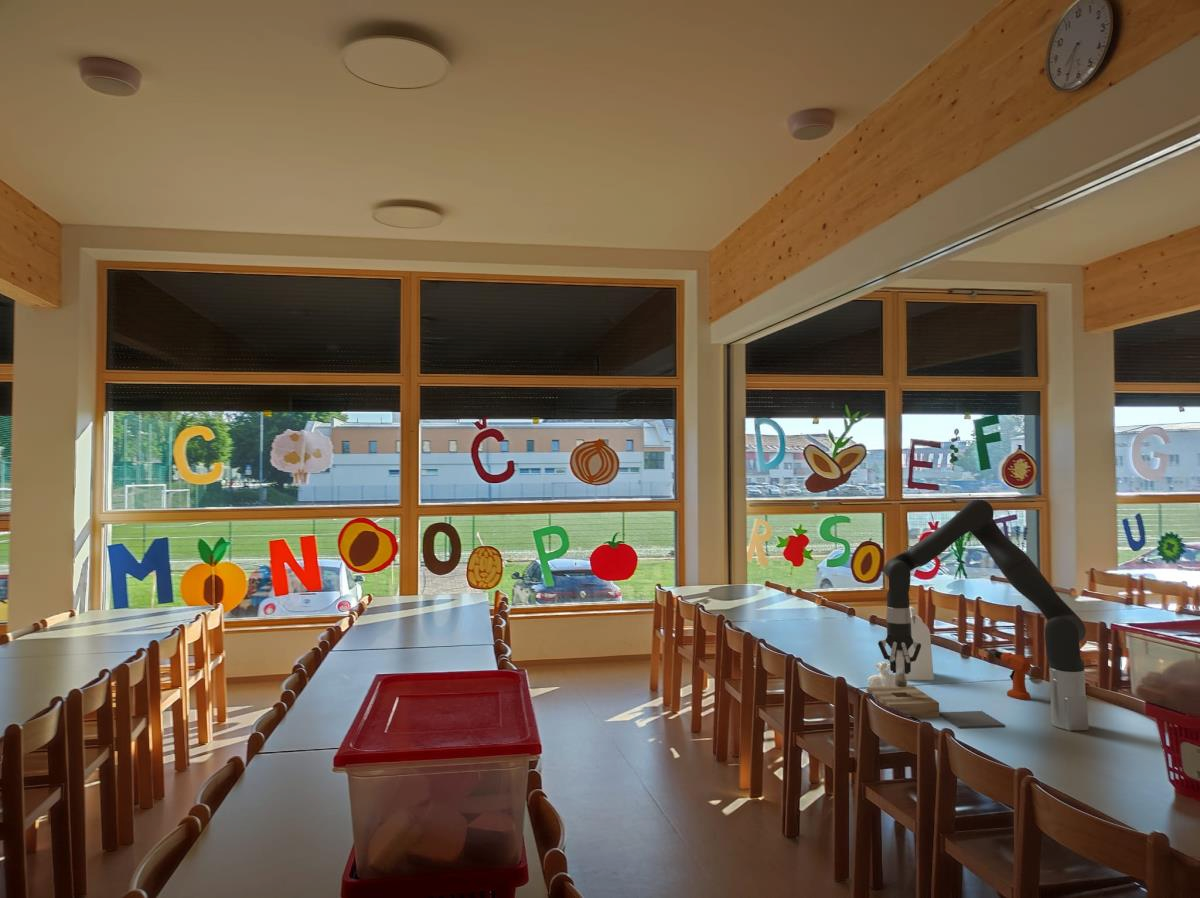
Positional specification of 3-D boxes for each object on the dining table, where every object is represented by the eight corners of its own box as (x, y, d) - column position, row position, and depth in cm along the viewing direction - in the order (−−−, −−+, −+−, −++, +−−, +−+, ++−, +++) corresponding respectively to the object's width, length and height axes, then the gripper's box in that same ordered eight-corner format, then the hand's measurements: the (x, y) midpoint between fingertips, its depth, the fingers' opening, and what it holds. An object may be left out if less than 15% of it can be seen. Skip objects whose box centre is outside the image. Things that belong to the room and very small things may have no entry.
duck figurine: (902, 698, 278) (896, 667, 285) (906, 689, 272) (900, 658, 280) (867, 697, 280) (862, 667, 287) (871, 689, 274) (865, 658, 281)
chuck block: (939, 717, 249) (939, 702, 249) (889, 718, 249) (888, 704, 249) (913, 699, 269) (913, 685, 269) (866, 700, 269) (866, 687, 269)
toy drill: (987, 681, 283) (990, 640, 282) (1033, 701, 266) (1036, 658, 265) (977, 683, 281) (980, 642, 280) (1022, 703, 264) (1026, 659, 263)
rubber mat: (1004, 726, 238) (1004, 724, 238) (959, 728, 238) (958, 726, 238) (981, 712, 252) (981, 710, 252) (938, 714, 252) (938, 712, 252)
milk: (891, 672, 305) (889, 604, 306) (922, 671, 305) (919, 604, 306) (902, 680, 293) (899, 609, 294) (933, 679, 293) (931, 609, 294)
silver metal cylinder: (908, 686, 258) (907, 650, 258) (897, 687, 258) (896, 650, 258) (904, 684, 261) (903, 647, 262) (893, 684, 261) (892, 647, 261)
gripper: (922, 619, 260) (924, 672, 260) (877, 617, 266) (878, 668, 266) (921, 623, 254) (923, 677, 253) (875, 621, 259) (876, 674, 259)
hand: (900, 672), depth 259 cm, fingers closed on silver metal cylinder, 3 cm apart
